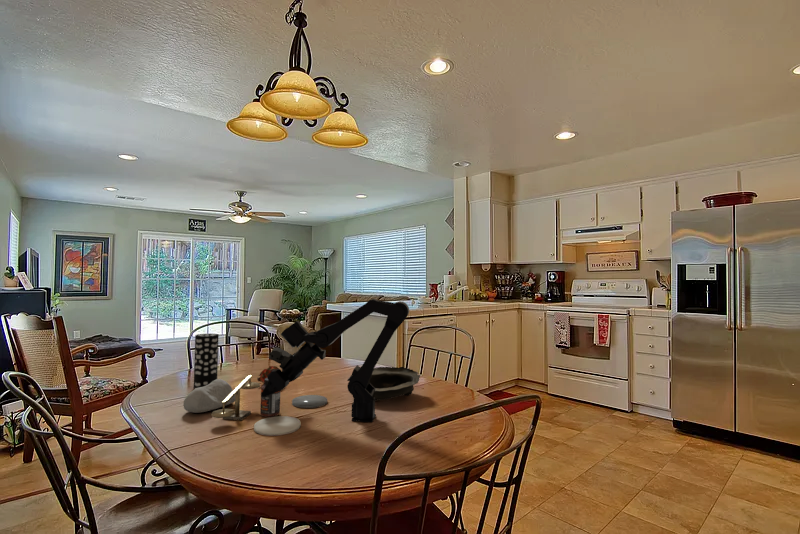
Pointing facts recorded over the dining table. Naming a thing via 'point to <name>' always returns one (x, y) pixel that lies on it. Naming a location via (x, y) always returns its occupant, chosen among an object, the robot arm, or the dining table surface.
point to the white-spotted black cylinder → (205, 359)
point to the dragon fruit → (266, 373)
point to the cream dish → (277, 425)
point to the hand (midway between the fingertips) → (267, 391)
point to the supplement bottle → (270, 403)
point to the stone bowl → (393, 382)
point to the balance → (236, 402)
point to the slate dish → (309, 401)
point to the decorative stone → (208, 397)
